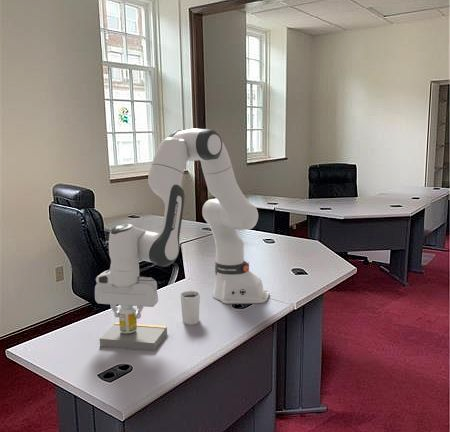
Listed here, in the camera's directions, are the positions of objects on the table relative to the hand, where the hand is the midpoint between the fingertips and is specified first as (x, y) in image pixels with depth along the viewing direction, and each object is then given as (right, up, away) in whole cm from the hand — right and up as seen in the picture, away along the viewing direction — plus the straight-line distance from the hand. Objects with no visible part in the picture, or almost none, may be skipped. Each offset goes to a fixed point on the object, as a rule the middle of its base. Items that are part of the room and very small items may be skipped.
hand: (127, 317), depth 147 cm
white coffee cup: (+19, -5, +15) cm, 24 cm away
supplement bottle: (0, -5, +1) cm, 5 cm away
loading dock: (+2, -7, +1) cm, 8 cm away
